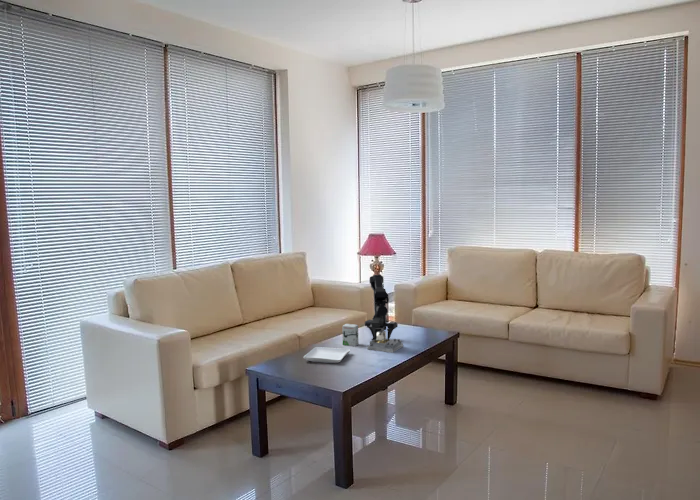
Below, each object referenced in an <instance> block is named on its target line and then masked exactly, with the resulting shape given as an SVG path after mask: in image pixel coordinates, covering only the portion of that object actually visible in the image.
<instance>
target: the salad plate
mask: <svg viewBox="0 0 700 500" xmlns="http://www.w3.org/2000/svg"><path fill="white" fill-rule="evenodd" d="M350 351H352V350H351V348H340V347H339V348H338V347H323V346H322V347H321V346H315V347H314V348H312V349H311V350H310V351H308V352H307V353H306V354H305V355H304V356H302V357H303V359H304V360H306V361H310V362H313V363H325V364H326V363H328V364H337V363H340V362H341V361H342V360H343V358H345V356H347V355H348V354H349V353H350Z"/></svg>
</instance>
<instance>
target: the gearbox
mask: <svg viewBox="0 0 700 500" xmlns="http://www.w3.org/2000/svg"><path fill="white" fill-rule="evenodd" d="M366 347H367V351H376V352H383V353H392V354H393V353H395V352H396V351H398V350H400V349H401V348H403V347H404V343H403V341H402V339H398V338H397V339H396V338H393V339H391V338H389V340H388V338H386V343H379V342H377V338H376V339H374V340H372V339H371V341H369V344H368V345H367V346H366Z"/></svg>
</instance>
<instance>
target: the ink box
mask: <svg viewBox="0 0 700 500" xmlns="http://www.w3.org/2000/svg"><path fill="white" fill-rule="evenodd" d="M341 329H342V345H343V346H352V347H357V346H358V345H359V325H358V324H355V323H354V324H353V323H352V324H351V323H345V324H343V325H342V328H341Z"/></svg>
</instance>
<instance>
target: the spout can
mask: <svg viewBox="0 0 700 500" xmlns="http://www.w3.org/2000/svg"><path fill="white" fill-rule="evenodd" d="M376 338H377V342H379V343H386V339H387V331H386V330H384V331H383V329H381V330H380V331H377V332H376Z"/></svg>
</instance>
